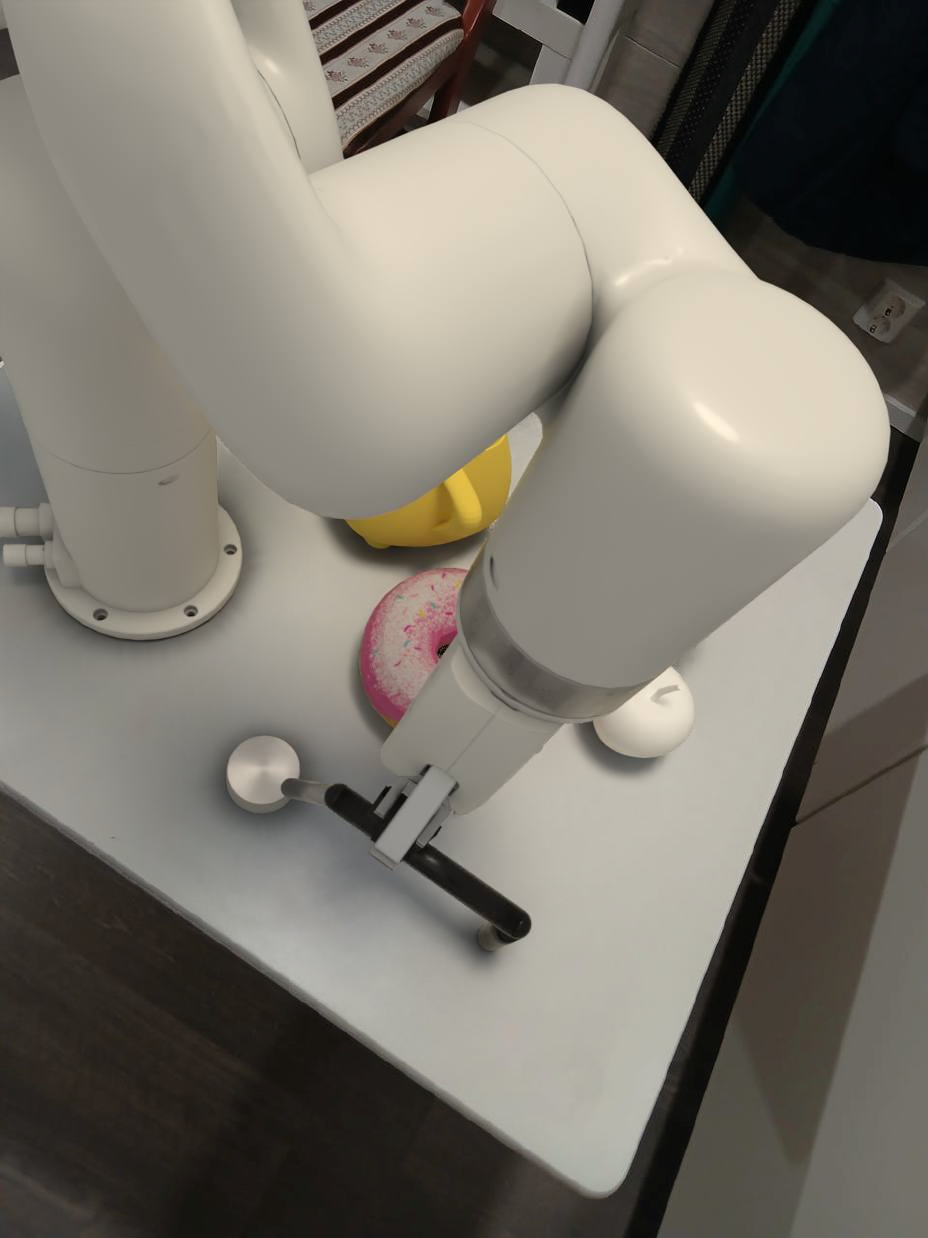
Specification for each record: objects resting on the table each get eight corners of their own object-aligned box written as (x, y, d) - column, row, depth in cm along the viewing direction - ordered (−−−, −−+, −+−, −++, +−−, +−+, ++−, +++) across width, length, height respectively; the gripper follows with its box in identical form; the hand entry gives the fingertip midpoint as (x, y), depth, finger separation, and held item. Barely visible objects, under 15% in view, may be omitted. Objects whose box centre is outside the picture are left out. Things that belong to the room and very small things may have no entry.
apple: (643, 793, 57) (699, 755, 50) (558, 735, 57) (602, 690, 51) (680, 717, 61) (736, 673, 54) (599, 664, 61) (645, 613, 54)
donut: (373, 574, 60) (384, 536, 56) (545, 613, 62) (568, 579, 58) (339, 745, 53) (348, 717, 49) (533, 782, 55) (558, 758, 51)
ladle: (211, 786, 50) (208, 749, 44) (257, 732, 52) (260, 690, 46) (480, 979, 48) (514, 967, 43) (515, 915, 51) (552, 895, 45)
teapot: (446, 390, 71) (484, 270, 60) (521, 586, 63) (579, 488, 52) (292, 399, 66) (303, 271, 55) (352, 612, 58) (378, 510, 47)
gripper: (589, 414, 33) (472, 605, 48) (335, 730, 24) (286, 846, 39) (740, 520, 33) (576, 680, 48) (539, 880, 24) (412, 941, 39)
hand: (445, 755), depth 43 cm, fingers open, 9 cm apart
